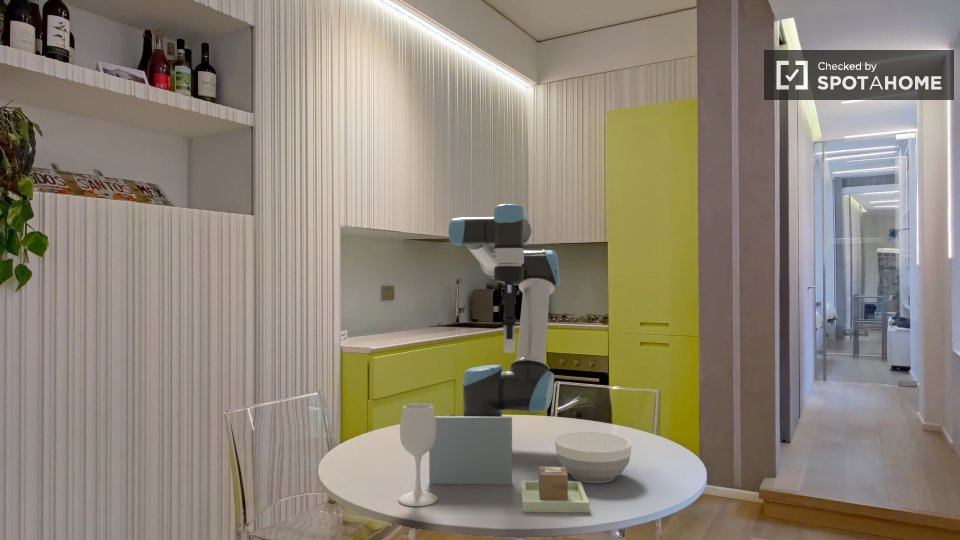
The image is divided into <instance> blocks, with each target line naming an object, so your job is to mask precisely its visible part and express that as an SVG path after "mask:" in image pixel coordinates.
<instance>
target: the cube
mask: <svg viewBox="0 0 960 540" xmlns="http://www.w3.org/2000/svg"><path fill="white" fill-rule="evenodd" d="M568 476H569V475H568V472H567V471H566V468H565V467H563V466H538V481H539V497H540V500H552V501H568V481H569V480H568V478H569V477H568Z"/></svg>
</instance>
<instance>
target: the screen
mask: <svg viewBox="0 0 960 540" xmlns="http://www.w3.org/2000/svg"><path fill="white" fill-rule="evenodd" d="M435 419H436V439H435V443H434V445H433V446H432V448H431V449H430V450H429V451H428V452H429V453H428V454H429V456H428V461H429V462H428V463H429V465H428V470H429V471H428V477H429V478H428V479H429V480H428V481H429V485H498V486H499V485H505V486H507V485H508V486H512V485H513V417H512V416H502V417H494V416H463V415H460V416H459V415H458V416H457V415H453V416H452V415H444V416H443V415H442V416H441V415H435Z"/></svg>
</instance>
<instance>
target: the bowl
mask: <svg viewBox="0 0 960 540" xmlns="http://www.w3.org/2000/svg"><path fill="white" fill-rule="evenodd" d="M554 443H555V444H554V445H555V452H556V456H557V459H558V462H559V464H560V465H561V467H565V468H566V471H567V474H570V476H571V477H572V478H573V479H575V481H581V483H582V482H583V483H589V484H602V483H603V484H604V483H605V484H606V483H609V482H612V481H614V480H615V479H616V477H618V476H619V475H621V474H622V473H624V470H625V469H626V468H627V467H628V465H629V462H630V460H631V459H630V458H631V455H632V441H630V440H629V439H627V438H626V437H623V436H620V435H615V434H612V433H604V432H594V431H593V432H592V431H591V432H588V431H585V432H584V431H579V432H570V433H565V434H562V435H559V436H557V437H556V438H555V442H554Z"/></svg>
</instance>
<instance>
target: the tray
mask: <svg viewBox="0 0 960 540" xmlns="http://www.w3.org/2000/svg"><path fill="white" fill-rule="evenodd" d="M520 493H521V494H520V495H521V507H522V512H523V513H585V514H586V513H590V501H589V499H588V497H587V494H586V492H585V489H584V486H583V483H582V481H579V480H568V501H552V500H540V497H539V480H520Z"/></svg>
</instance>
